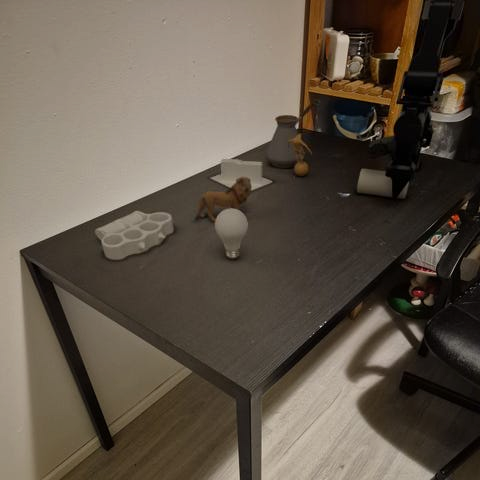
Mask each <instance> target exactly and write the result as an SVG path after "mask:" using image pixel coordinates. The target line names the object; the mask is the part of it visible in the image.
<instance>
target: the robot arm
mask: <svg viewBox="0 0 480 480" xmlns="http://www.w3.org/2000/svg"><path fill="white" fill-rule="evenodd" d="M464 5H465V0H425V2H424V6H423V10H422V16H421V20H423V21H424V22H423V30H424V31H423V32H424V34H423V37H422V41H421V43H420V48H419V51H418V53H417V54H416V55H414V56H413V57H412V58H411V59H410V61H409V65H408V68H407V70H404V72H403V75H402V78H401V83H400V86H399V91H398V95H397V99H396V102H395V103H396V104H395V105H401V109H400V113H399V114H398V116H397V118H396V120H395V121H394V123H393V127H392V132H393V135H389V136H383V137H381V138H377V139H373V140H371V141H370V142H369V144H368V150H369V152H368V155H369V156H370V159H371V160H376V159H377V158H381V157H385V156H389V158H391V159H390V161H389V162H388V163H387V165H386V168H385V171H386V173H385V176H386V177H390V178H391V179H392V197H391V198H392V199H398V198H397V197H398V196H399V194H400V193H401V191H402V190H403V189H404V187H405V186H406V185H407V183H408V182H409V183H410V181H411V180H413V179H414V176H415V172H416V171H418V170H419V166H420V156H421V153H422V148H423V149H427V148H428V147H430V146H431V144H432V139H433V135H434V129H433V124H431V121H432V113H431V109H430V108H433V107H434V104H435V102H438V101H439V98H440V94H441V90H442V88H443V87H442V86H443V82H444V78H443V72H440V69H441V65H442V59H441V57H442V53H443V49H444V46H445V42H446V40H447V39H448V38H449V36H450V35H451V34H452V32H453V31H454V30H455V28H456V24H457V21H461V18H462V17H461V16H462V12H463V9H464ZM431 98H432V99H431Z"/></svg>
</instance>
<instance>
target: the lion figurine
mask: <svg viewBox="0 0 480 480" xmlns="http://www.w3.org/2000/svg"><path fill="white" fill-rule="evenodd" d="M251 187H252V186H251V183H250V178H249V179H248V178H247V177H244V176H242V177H240V178H238V179H236V183H235V184H234V185H232V187H231V188H230V187H228V189H227V190H225V191H214V190H209V191H206V192H204V193H203V194H202V195H201V197H200V198H199V201H198V210H197V214H196V216H195V218H194V221H198V220H199V219H200V218H204V217H205V216H206V214H205V213H203V212H204V211H205V210H206V209H207V210H208V213H207V215H208V217H209V218H210V220H211V221H212V222H215V221H216V218H217V217H214V215H213V213H214V210H215V205H216V206H218V207H220V208H227V207H230V208H233V209H237V210H239V211H241V210H240V209H241V205H242V204H245V203H246V202H247V201H248V198H249V196H251V192H252V191H251Z"/></svg>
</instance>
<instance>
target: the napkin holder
mask: <svg viewBox="0 0 480 480" xmlns="http://www.w3.org/2000/svg"><path fill="white" fill-rule="evenodd" d="M220 169H221V170H220V172H221V173H219V174H216V175H214V176H211V177H210V180H213V181H215V182H217V183H219V184H221V185H223V186H226V187H228V188H231V187H232V185H234V184H235V183H236V179H238V178H240V177H242V176H244V177H247V178H248V179H249V178H250V183H251V186H252V187H251V191H250V192H252V191H254V190H257V189H260V188H263V187H264V186H266V185H267V186H268V185H269V184H272V183H273V181H272V180H271V179H269V178H268V179H267V178H266V177H263V161H251V160H249V161H248V160H247V161H246V160H242V159H238V158H237V159H235V158H222V160H221V161H220Z"/></svg>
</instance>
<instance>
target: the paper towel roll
mask: <svg viewBox="0 0 480 480" xmlns="http://www.w3.org/2000/svg"><path fill="white" fill-rule="evenodd" d="M385 173H386V170H377V169H370V168H361V170H360V172H359V177H358V182H357V186H356V187H357V188H356V193H357V194H364V195H372V196H380V197H387V198H393V197H392V179H391V178H390V177H386V176H385ZM409 184H410V181H409V182H408V183H407V185H406V186H405V187H404V189H403V190H402V191H401V193H400V194H399V196H398V197H397V198H396V199H402V200H405V199H406V196H407V193H408V188H409Z"/></svg>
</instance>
